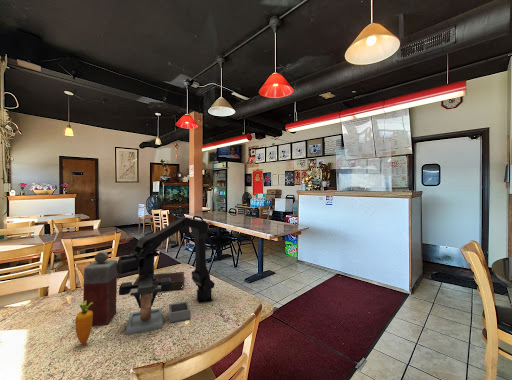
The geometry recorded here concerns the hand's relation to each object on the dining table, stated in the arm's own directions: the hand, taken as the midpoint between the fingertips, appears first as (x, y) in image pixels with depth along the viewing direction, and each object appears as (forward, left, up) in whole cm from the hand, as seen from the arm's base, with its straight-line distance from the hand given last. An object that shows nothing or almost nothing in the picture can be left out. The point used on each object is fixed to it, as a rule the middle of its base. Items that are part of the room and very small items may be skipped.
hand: (145, 306), depth 94 cm
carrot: (+19, +7, -7) cm, 21 cm away
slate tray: (0, 0, -6) cm, 6 cm away
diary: (-6, -37, -7) cm, 38 cm away
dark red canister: (+17, -10, -7) cm, 21 cm away
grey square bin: (-13, 0, -6) cm, 15 cm away
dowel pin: (0, 0, -4) cm, 5 cm away
